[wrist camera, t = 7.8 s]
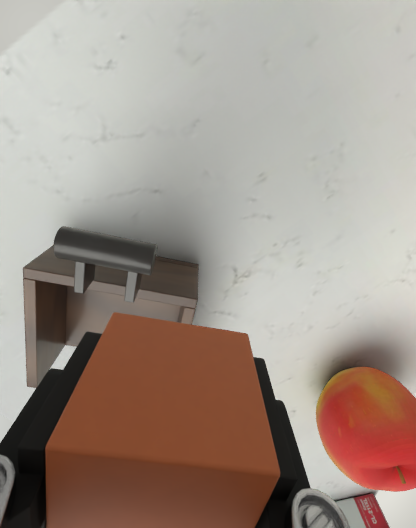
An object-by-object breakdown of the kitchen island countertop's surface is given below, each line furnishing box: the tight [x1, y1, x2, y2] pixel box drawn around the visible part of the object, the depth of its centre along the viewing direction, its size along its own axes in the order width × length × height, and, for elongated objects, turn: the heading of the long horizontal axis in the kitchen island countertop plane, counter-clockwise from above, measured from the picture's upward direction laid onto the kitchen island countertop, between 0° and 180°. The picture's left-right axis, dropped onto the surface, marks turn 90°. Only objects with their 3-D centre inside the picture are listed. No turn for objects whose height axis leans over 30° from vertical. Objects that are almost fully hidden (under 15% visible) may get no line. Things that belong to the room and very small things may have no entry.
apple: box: [316, 367, 416, 491], centre depth 27 cm, size 10×10×10 cm
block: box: [45, 312, 280, 528], centre depth 8 cm, size 4×4×4 cm
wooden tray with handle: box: [23, 226, 199, 388], centre depth 22 cm, size 15×12×9 cm
